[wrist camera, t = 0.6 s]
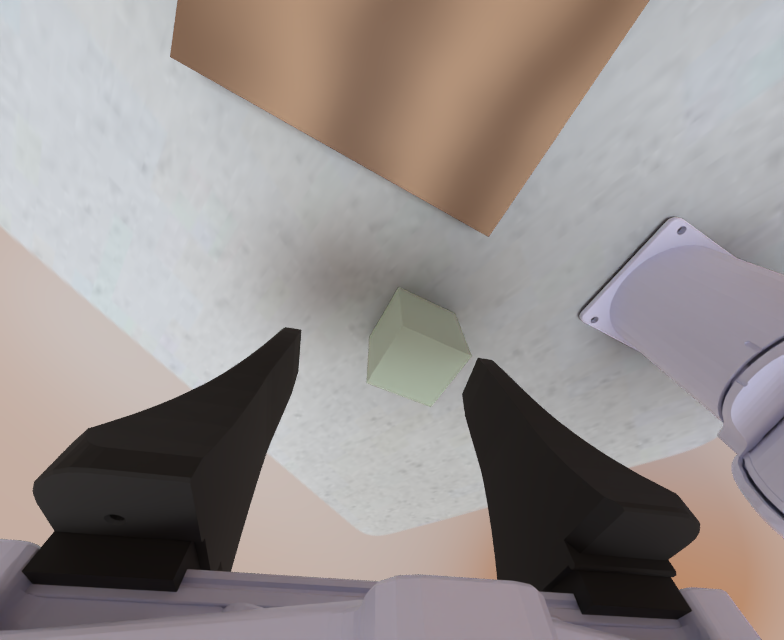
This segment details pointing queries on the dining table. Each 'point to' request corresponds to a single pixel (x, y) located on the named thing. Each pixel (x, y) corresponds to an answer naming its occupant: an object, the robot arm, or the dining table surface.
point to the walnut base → (414, 81)
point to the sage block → (416, 349)
